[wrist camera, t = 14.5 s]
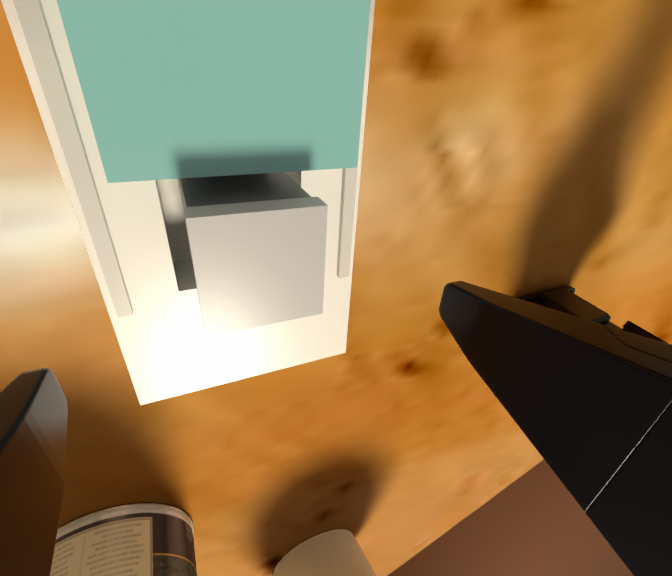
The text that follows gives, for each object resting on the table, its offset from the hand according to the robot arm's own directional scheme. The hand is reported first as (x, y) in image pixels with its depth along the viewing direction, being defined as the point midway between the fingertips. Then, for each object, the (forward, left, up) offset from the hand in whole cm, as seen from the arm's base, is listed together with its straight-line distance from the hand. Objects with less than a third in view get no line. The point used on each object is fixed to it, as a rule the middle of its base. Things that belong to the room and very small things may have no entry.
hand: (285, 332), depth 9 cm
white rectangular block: (0, 0, -9) cm, 9 cm away
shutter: (+5, 0, -7) cm, 9 cm away
